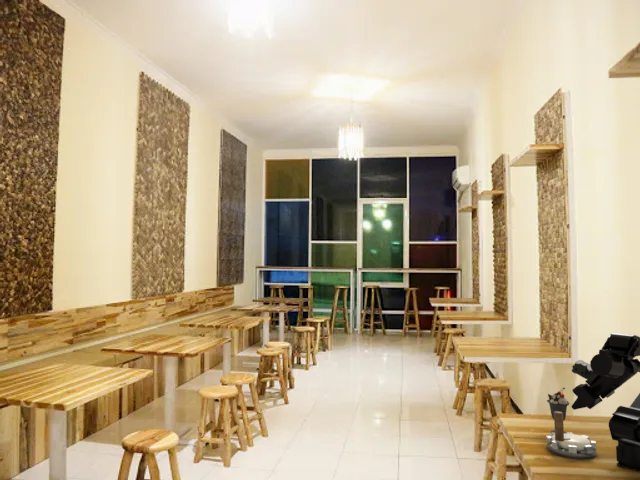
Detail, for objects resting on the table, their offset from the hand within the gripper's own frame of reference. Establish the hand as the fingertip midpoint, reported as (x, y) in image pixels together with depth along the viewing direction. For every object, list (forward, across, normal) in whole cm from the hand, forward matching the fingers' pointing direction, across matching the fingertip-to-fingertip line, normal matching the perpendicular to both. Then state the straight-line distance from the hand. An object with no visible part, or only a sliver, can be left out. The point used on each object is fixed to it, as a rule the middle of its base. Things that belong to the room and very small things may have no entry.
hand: (572, 408), depth 141 cm
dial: (+10, -3, +7) cm, 12 cm away
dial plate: (+11, -3, +8) cm, 14 cm away
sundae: (+17, -16, +3) cm, 24 cm away
